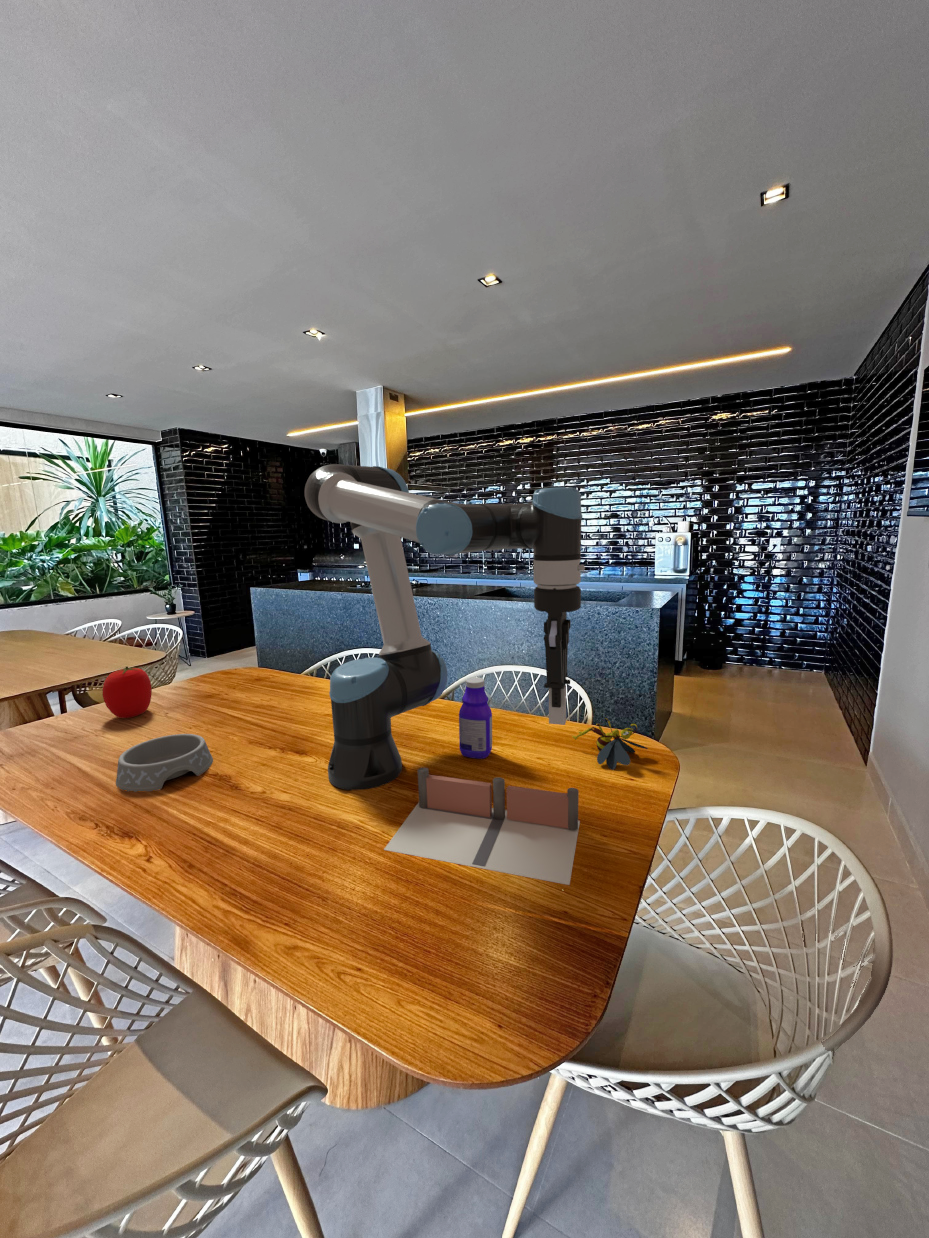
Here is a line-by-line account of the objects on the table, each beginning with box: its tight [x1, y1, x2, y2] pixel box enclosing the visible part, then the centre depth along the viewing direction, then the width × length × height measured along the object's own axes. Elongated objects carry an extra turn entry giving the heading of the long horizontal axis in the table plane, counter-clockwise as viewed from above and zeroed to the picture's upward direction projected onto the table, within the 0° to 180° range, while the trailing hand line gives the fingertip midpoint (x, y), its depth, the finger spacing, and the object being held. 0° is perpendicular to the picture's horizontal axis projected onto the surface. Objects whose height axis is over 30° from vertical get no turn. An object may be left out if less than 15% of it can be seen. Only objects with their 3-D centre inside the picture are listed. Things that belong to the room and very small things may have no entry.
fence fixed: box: [417, 766, 506, 820], centre depth 90 cm, size 16×2×7 cm, turn 72°
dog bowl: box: [115, 733, 214, 793], centre depth 109 cm, size 17×18×5 cm
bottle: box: [458, 676, 493, 760], centre depth 111 cm, size 7×6×17 cm
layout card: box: [383, 802, 581, 886], centre depth 83 cm, size 29×16×1 cm, turn 72°
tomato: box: [102, 665, 153, 719], centre depth 141 cm, size 13×11×14 cm
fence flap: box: [506, 785, 580, 830], centre depth 85 cm, size 12×2×7 cm, turn 72°
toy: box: [571, 717, 649, 771], centre depth 110 cm, size 12×8×15 cm
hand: (557, 722), depth 87 cm, fingers closed
